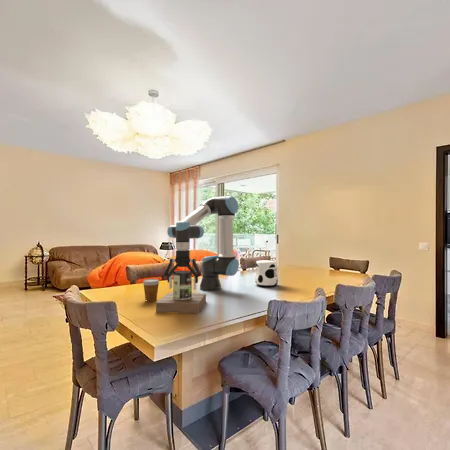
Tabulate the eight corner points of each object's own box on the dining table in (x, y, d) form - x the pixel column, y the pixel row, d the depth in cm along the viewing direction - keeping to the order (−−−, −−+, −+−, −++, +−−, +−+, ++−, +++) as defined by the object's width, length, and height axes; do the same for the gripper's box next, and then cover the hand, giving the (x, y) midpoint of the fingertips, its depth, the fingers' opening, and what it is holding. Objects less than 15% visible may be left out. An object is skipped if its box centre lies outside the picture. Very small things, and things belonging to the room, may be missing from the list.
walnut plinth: (169, 301, 165) (169, 292, 165) (205, 302, 162) (205, 293, 162) (156, 312, 143) (156, 302, 143) (198, 313, 140) (198, 303, 140)
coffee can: (194, 295, 157) (194, 270, 157) (188, 300, 146) (188, 273, 147) (177, 294, 159) (177, 270, 159) (169, 299, 148) (169, 273, 149)
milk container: (252, 283, 217) (252, 260, 217) (274, 283, 219) (274, 260, 219) (257, 288, 200) (257, 263, 200) (281, 287, 201) (281, 262, 202)
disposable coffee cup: (162, 299, 169) (162, 279, 169) (153, 303, 160) (153, 282, 160) (148, 297, 172) (148, 278, 172) (139, 301, 163) (139, 281, 163)
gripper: (158, 250, 150) (158, 289, 150) (203, 250, 148) (203, 290, 148) (162, 249, 158) (162, 286, 158) (206, 249, 155) (206, 287, 155)
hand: (182, 288), depth 153 cm, fingers open, 13 cm apart
